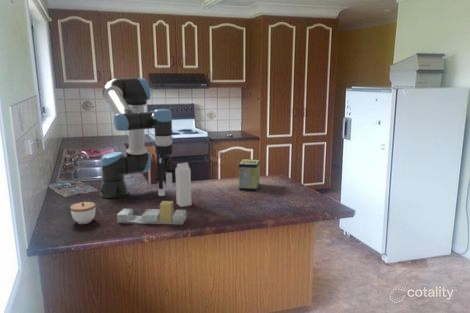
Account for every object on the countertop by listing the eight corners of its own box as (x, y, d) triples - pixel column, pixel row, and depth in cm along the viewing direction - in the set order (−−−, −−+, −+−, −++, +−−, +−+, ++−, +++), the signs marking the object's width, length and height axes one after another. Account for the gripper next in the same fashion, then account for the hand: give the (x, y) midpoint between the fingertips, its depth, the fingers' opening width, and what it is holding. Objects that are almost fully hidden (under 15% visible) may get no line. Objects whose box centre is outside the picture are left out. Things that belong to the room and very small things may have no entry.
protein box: (259, 183, 234) (259, 159, 231) (256, 191, 219) (256, 164, 216) (242, 183, 236) (242, 158, 233) (238, 190, 221) (238, 164, 218)
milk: (191, 205, 196) (190, 163, 191) (180, 207, 193) (179, 165, 189) (187, 201, 201) (186, 161, 197) (176, 203, 198) (174, 162, 194)
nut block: (171, 221, 172) (170, 204, 171) (160, 221, 173) (159, 204, 171) (173, 217, 177) (173, 201, 175) (163, 217, 177) (162, 200, 176)
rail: (117, 223, 173) (116, 214, 172) (123, 216, 180) (123, 208, 180) (182, 224, 170) (182, 216, 170) (186, 218, 178) (186, 209, 177)
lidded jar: (76, 217, 180) (74, 198, 178) (99, 216, 181) (97, 198, 179) (68, 226, 169) (66, 206, 167) (93, 225, 170) (91, 205, 168)
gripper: (165, 150, 155) (167, 200, 160) (178, 139, 179) (179, 182, 184) (147, 150, 156) (149, 199, 160) (162, 139, 180) (164, 182, 185)
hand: (165, 190), depth 172 cm, fingers open, 13 cm apart
